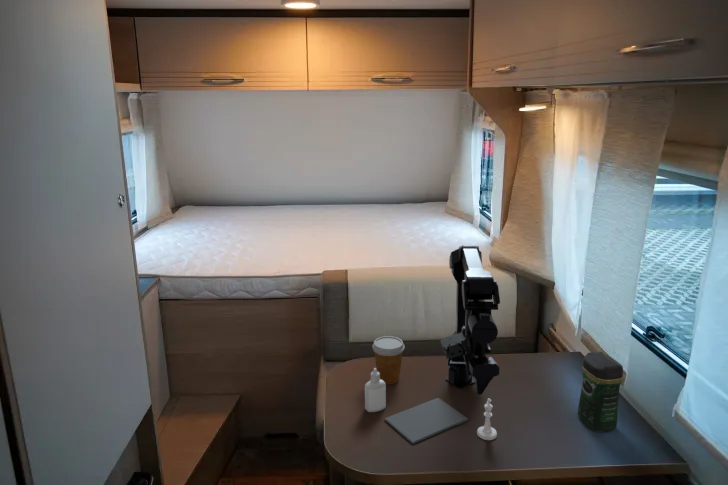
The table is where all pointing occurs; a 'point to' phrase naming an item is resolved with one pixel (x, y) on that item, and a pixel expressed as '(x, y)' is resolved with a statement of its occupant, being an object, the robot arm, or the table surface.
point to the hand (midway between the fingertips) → (474, 384)
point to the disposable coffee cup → (388, 358)
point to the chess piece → (487, 424)
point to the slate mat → (425, 420)
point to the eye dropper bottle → (375, 393)
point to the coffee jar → (600, 392)
